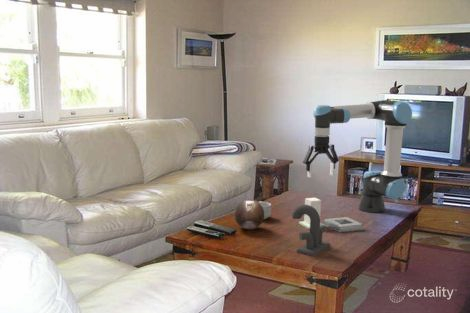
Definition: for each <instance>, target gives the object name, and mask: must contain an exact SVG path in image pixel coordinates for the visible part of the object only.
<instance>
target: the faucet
mask: <svg viewBox="0 0 470 313" xmlns="http://www.w3.org/2000/svg"><path fill="white" fill-rule="evenodd" d="M304 214H306V215H308V216H309V217H310V229H309V232H307V231H304V232H302V231H301V232H299V235H298V238H299V240H300V241H305V244H304V245H302V246H301V247H299V248H298V249H296V253H298V254H302V255H307V256H308V257H309V256H311V257H315V256H317V255H319V254H320V253H322V252H323V251H325V250H327V249H328V248H330V247H331V243H329V242H327V241H323V234H324V233H325V232H326V231H327V226H326V225H325V226H324V225H321V226H320V223H321V215H320V216H319V214H318V212H317V211H316V209H315V208H313V207H312V206H309V205H305V204H301V205H298V206H297V207H296V208H295V209H294V210H293V212H292V215H291V218H292V219H294V220H300V219H301V218H303V217H302V216H304Z"/></svg>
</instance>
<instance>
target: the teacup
mask: <svg viewBox="0 0 470 313" xmlns="http://www.w3.org/2000/svg"><path fill="white" fill-rule="evenodd" d="M257 202H258V203H259V204H260V205H261V206H262V207H263V210H264V219H263V220H266V219H269V217H270V216H271V214H272V213H271V212H272V203H270V202H268V201H261V200H260V201H257Z"/></svg>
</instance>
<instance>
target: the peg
mask: <svg viewBox="0 0 470 313" xmlns="http://www.w3.org/2000/svg"><path fill="white" fill-rule="evenodd" d="M304 205H309V206H312V207H313V208H315V209H316V211H317V212H318V214H319V216H320V217H321V209H322V199H319V198H317V197H306V198H305V199H304ZM303 221H304V223H306V224H308V225H310V217H309V216H308V215H306V214H304V215H303Z"/></svg>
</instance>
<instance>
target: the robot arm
mask: <svg viewBox="0 0 470 313" xmlns="http://www.w3.org/2000/svg"><path fill="white" fill-rule="evenodd" d="M313 117H314V145H311V144H310V145H309V146H308V150H307V152H306V155H305V156H304V158H303V161H302V163H303V164H305V166H306V168H305V170H306V171H307V173H306V174H307V175H306V176H307V178H311V179H312V164H313V162H314V160H316V158H317V156H318V155H322V154H323V155H324V154H325V155H326V156H327V157H328V159H329V160H330V162H329V176H332V177H333V176H334V175H335V169H336V164H337V163H338V162H339V161H340V159H339V157H338V155H337V152H336V149H335V144H333V143H330V135H331V134H330V133H331V132H330V131H331V125H332V124H347V123H349V121H350V119H351V120H352V119H362V118H363V119H364V118H366V119H368V120H378V121H384V127H386V137H385V149H384V150H385V151H384V162H383V163H384V164H383V170H382V171H381V170H366V171H364V172H363V178H362V193H361V194H362V195H361V198H360V201H359V203H358V210H360V211H362V212H365V213H366V212H367V213H373V214H374V213H375V214H377V213H383V212H385V210H386V206H385V202H384V197H386V198H388V199H393V200H396V199H399V198H401V196H402V195H404V194H405V191H406V182H405V181H404V180H403V179H402V178H403V175H402V174H403V173H401V171H400V170H401V169H400V168H401V158H402V146H403V134H404V129H405V128H406V127H407V124H408V123H409V122H410V121H411V119H412V117H413V110H412V108H411V106H410V104H409V103H407V102H406V101H405V102H404V101H401V100H388V99H383V100H375V101H369V102H368V101H367V102H366V103H361V104H351V105H350V104H348V105H346V104H345V105H333V106H331V105H328V104H327V105H324V104H323V105H321V104H320V105H316V107H315V108H314V110H313Z"/></svg>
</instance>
